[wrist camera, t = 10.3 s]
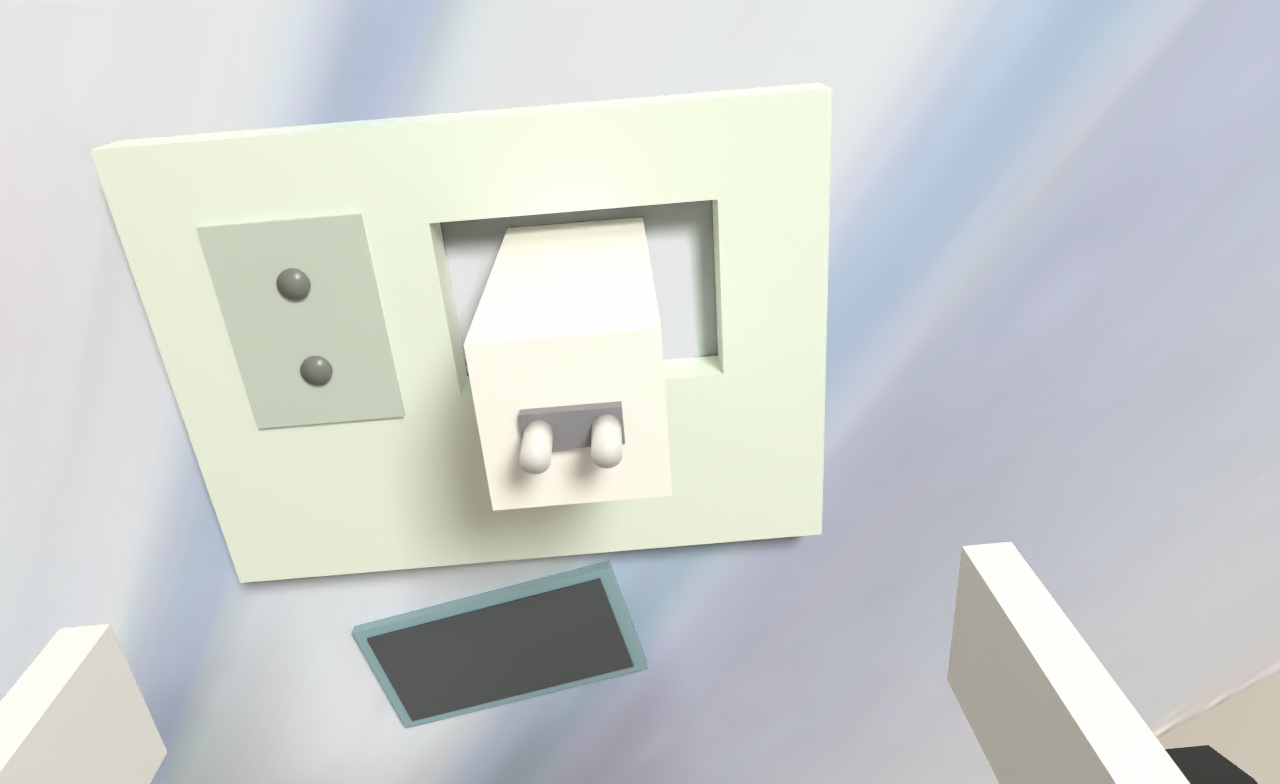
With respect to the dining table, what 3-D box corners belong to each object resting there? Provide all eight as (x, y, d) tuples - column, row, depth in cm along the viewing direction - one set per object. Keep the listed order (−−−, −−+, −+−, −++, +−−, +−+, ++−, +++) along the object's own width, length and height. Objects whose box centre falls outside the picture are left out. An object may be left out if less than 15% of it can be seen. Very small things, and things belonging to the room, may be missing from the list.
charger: (525, 352, 30) (485, 548, 20) (507, 228, 28) (452, 374, 18) (651, 342, 30) (677, 533, 20) (642, 217, 28) (665, 356, 18)
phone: (410, 710, 38) (405, 730, 37) (358, 617, 36) (351, 635, 35) (646, 652, 37) (647, 670, 36) (609, 552, 35) (609, 568, 34)
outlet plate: (255, 557, 34) (236, 589, 32) (116, 140, 27) (82, 152, 25) (812, 510, 34) (823, 539, 32) (819, 82, 27) (835, 90, 25)
